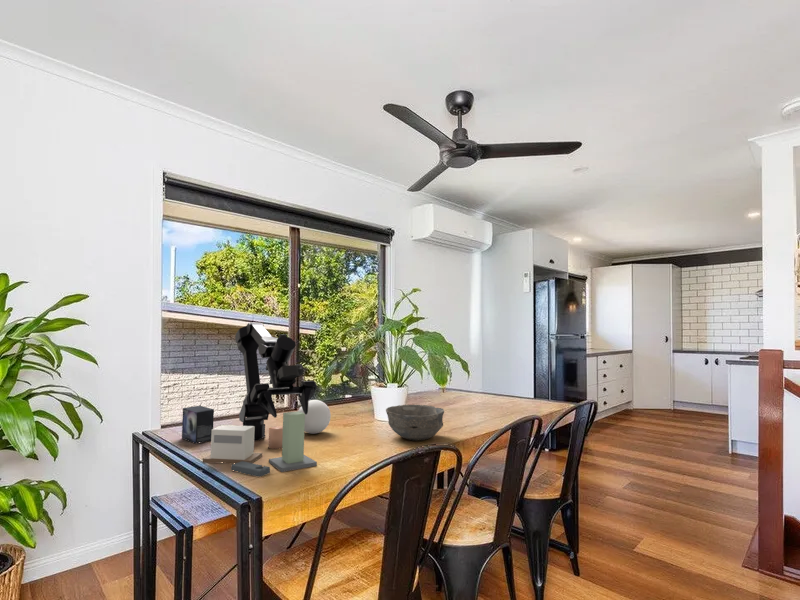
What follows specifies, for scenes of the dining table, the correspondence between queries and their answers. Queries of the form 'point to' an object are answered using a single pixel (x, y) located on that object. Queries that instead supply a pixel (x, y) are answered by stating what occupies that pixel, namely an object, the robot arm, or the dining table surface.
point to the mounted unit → (232, 444)
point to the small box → (197, 423)
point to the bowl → (415, 421)
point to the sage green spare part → (293, 437)
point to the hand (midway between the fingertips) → (291, 415)
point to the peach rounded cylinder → (275, 437)
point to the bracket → (250, 468)
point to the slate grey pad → (292, 464)
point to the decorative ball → (316, 416)
